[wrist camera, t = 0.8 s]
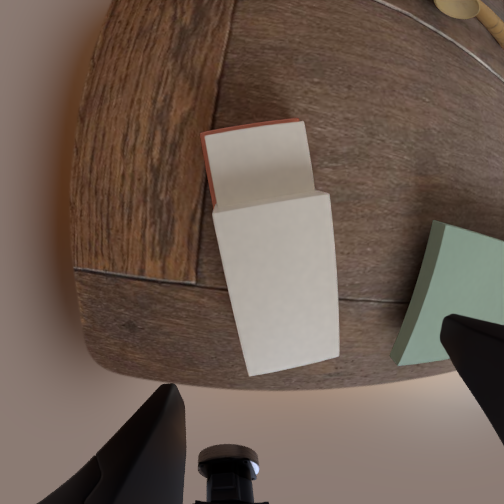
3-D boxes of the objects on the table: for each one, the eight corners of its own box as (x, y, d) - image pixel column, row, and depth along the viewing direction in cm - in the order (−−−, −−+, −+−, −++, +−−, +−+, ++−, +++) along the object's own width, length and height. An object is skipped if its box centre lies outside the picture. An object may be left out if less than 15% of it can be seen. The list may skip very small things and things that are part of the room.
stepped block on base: (318, 326, 20) (341, 368, 15) (243, 341, 20) (249, 389, 15) (293, 121, 16) (318, 104, 11) (201, 135, 15) (190, 122, 11)
